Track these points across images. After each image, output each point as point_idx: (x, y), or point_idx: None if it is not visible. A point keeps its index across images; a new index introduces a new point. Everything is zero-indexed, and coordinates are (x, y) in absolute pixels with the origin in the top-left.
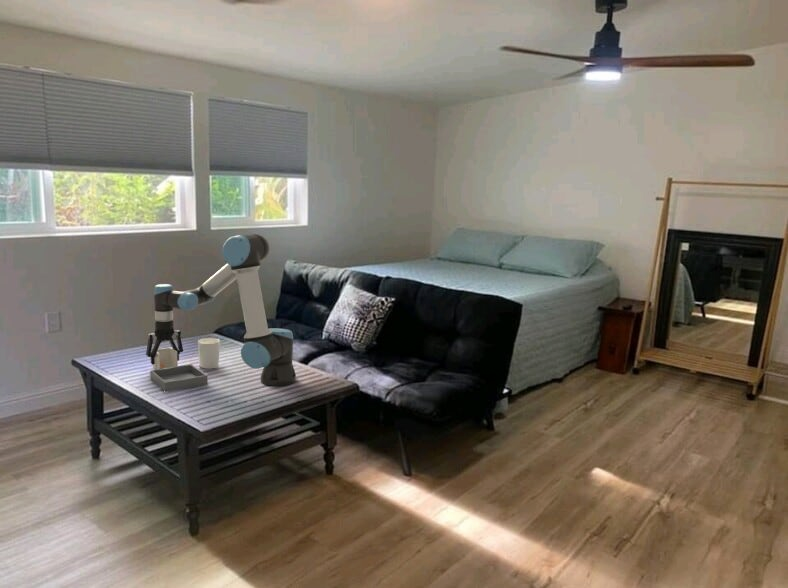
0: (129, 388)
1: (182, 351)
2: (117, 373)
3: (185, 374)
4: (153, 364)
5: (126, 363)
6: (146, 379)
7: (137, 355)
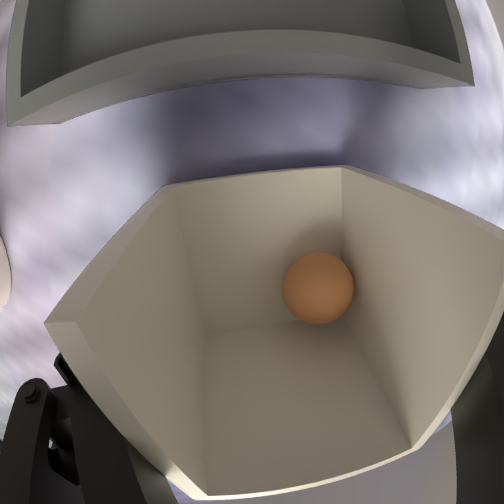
0: (499, 40)
1: (29, 382)
2: None
3: (126, 25)
4: None
5: None
6: (439, 109)
7: None
